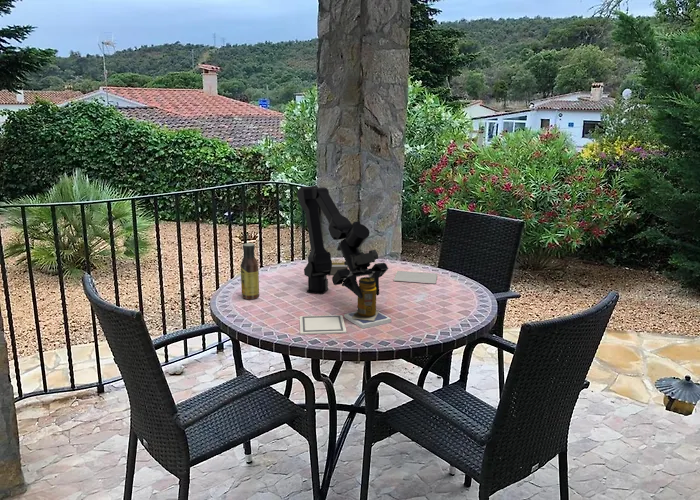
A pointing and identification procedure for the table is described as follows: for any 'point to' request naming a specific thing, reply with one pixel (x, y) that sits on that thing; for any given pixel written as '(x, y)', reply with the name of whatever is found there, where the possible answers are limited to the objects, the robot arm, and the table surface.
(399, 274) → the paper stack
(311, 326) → the marked board
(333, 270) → the platform
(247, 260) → the sauce bottle
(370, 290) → the condiment
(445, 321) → the table surface
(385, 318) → the ink pad
